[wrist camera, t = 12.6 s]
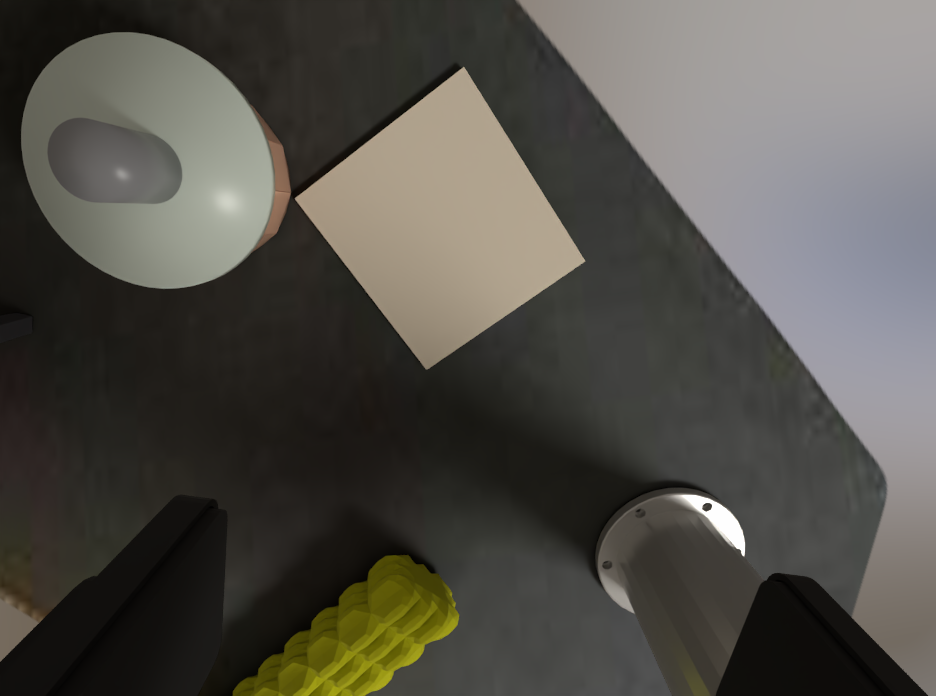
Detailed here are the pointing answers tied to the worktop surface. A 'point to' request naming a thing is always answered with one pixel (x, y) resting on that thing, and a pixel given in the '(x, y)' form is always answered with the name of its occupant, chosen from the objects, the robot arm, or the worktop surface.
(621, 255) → the worktop surface
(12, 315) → the planter
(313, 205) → the mat
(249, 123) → the lid
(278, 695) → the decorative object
